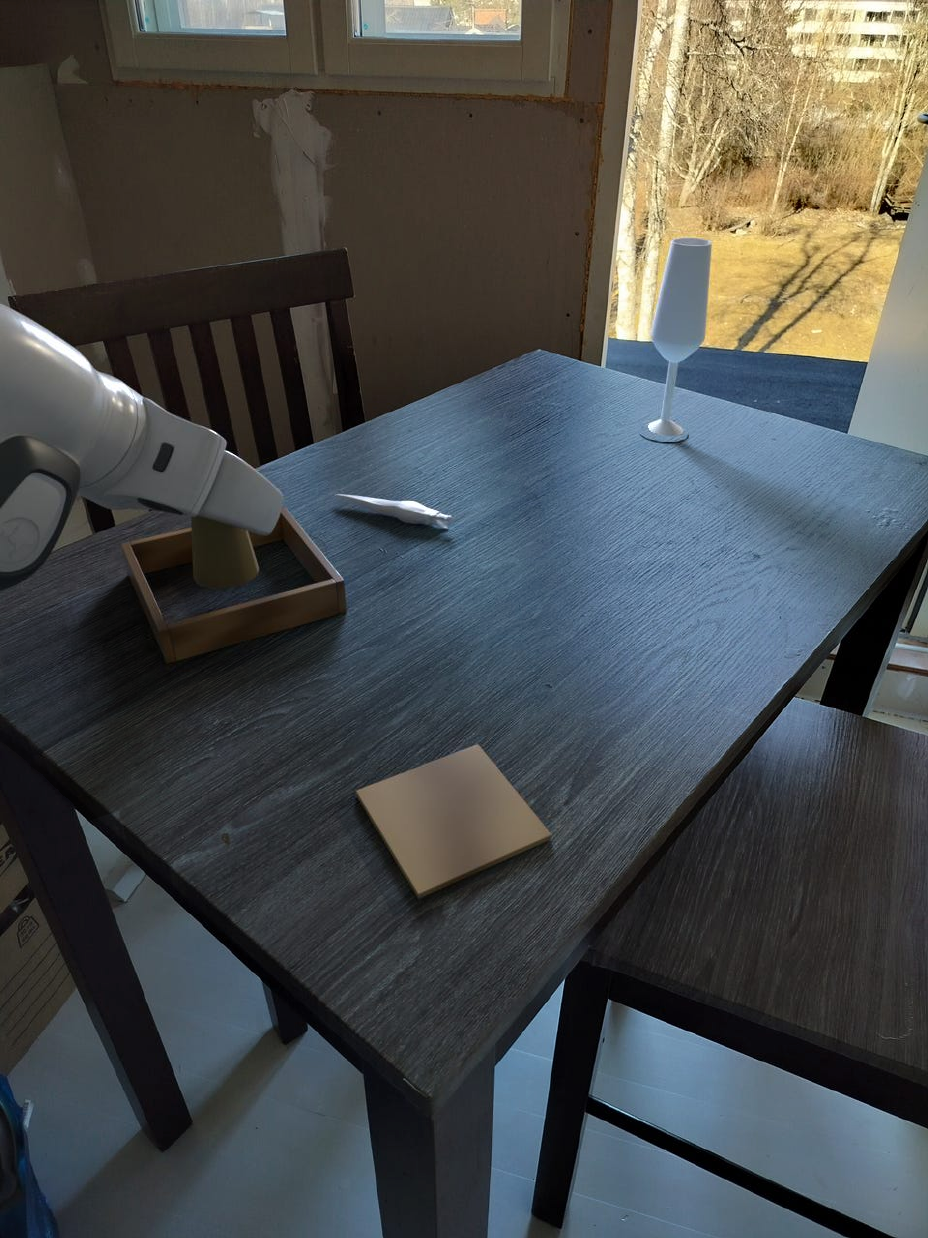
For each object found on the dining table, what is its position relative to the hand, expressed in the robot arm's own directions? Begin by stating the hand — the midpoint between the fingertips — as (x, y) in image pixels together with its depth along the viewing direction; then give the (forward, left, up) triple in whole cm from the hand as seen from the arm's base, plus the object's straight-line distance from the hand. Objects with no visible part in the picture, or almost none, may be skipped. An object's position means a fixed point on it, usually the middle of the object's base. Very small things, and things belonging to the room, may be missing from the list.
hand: (222, 512), depth 77 cm
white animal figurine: (+20, +7, -9) cm, 23 cm away
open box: (0, 0, -8) cm, 9 cm away
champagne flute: (+62, +11, -9) cm, 63 cm away
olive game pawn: (-1, 0, -6) cm, 6 cm away
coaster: (+5, -35, -8) cm, 37 cm away
